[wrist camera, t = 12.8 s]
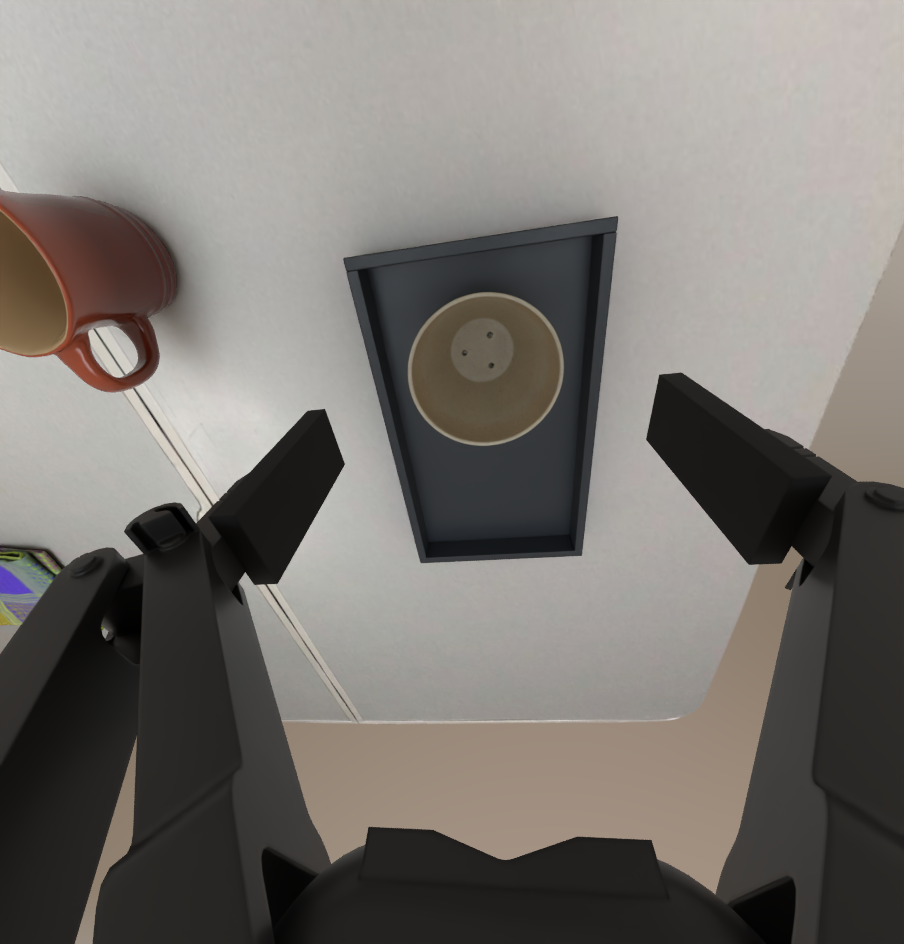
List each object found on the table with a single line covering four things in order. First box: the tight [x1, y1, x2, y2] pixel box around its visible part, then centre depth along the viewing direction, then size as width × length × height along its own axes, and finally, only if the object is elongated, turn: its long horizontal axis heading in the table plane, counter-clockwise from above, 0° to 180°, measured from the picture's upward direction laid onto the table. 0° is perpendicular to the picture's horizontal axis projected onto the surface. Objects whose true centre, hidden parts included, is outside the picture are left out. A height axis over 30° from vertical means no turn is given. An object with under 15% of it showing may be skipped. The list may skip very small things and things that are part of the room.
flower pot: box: [408, 292, 564, 446], centre depth 26 cm, size 10×10×7 cm
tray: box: [343, 216, 618, 563], centre depth 32 cm, size 30×18×3 cm, turn 7°
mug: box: [0, 190, 177, 392], centre depth 23 cm, size 12×9×10 cm
